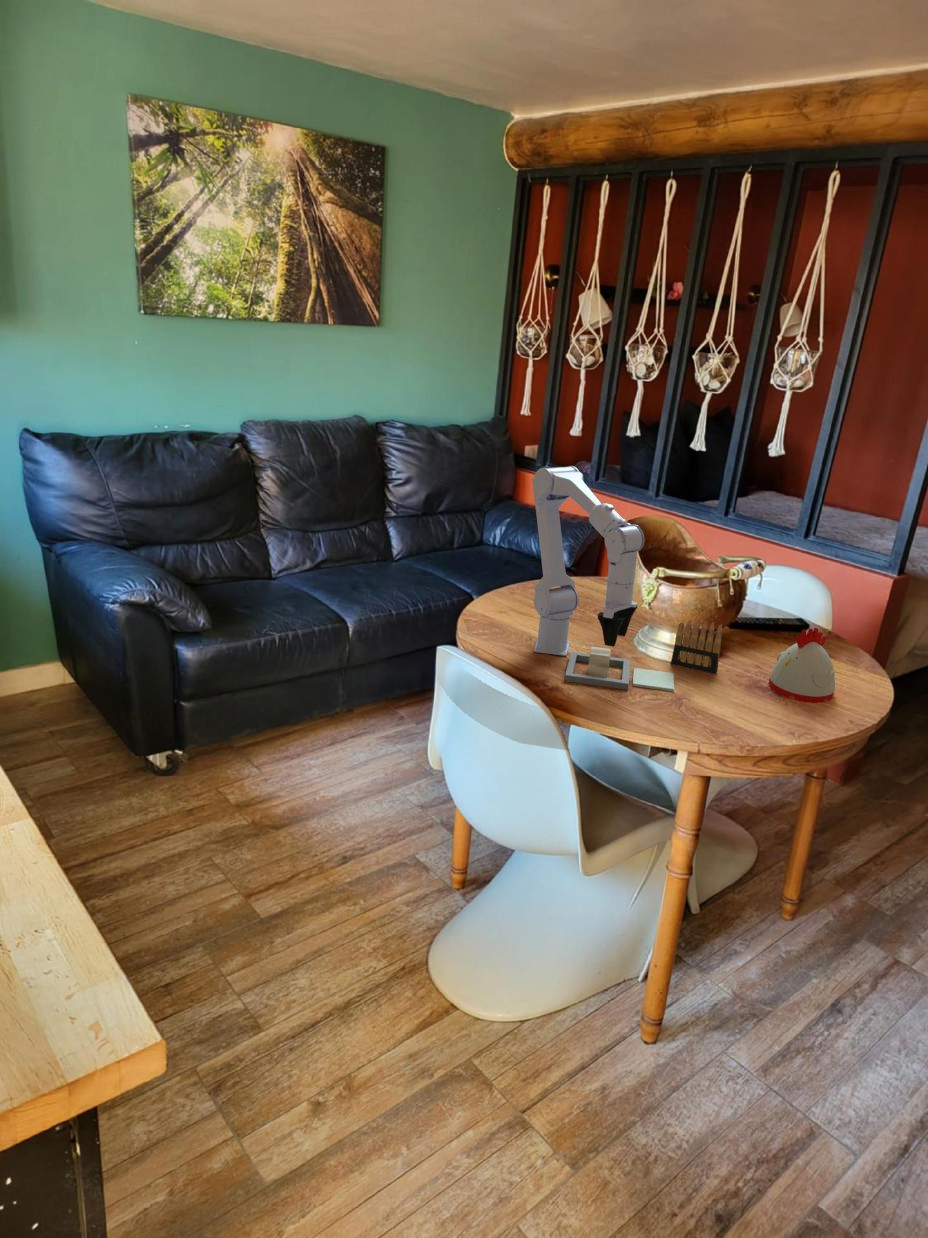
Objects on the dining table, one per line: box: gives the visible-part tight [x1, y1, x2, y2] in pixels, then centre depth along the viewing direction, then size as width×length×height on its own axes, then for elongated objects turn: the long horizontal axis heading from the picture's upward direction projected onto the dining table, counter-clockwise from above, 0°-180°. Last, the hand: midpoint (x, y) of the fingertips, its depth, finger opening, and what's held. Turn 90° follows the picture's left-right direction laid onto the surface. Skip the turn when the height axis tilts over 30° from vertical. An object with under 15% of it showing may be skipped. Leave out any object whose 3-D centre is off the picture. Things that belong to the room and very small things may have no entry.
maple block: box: [587, 646, 612, 678], centre depth 190 cm, size 4×4×6 cm
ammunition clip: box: [670, 619, 723, 674], centre depth 195 cm, size 11×2×12 cm, turn 65°
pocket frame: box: [564, 651, 631, 691], centre depth 191 cm, size 14×14×2 cm
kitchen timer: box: [768, 627, 836, 704], centre depth 186 cm, size 14×14×15 cm
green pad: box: [632, 667, 675, 692], centre depth 189 cm, size 9×9×1 cm
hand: (615, 640), depth 183 cm, fingers open, 7 cm apart
